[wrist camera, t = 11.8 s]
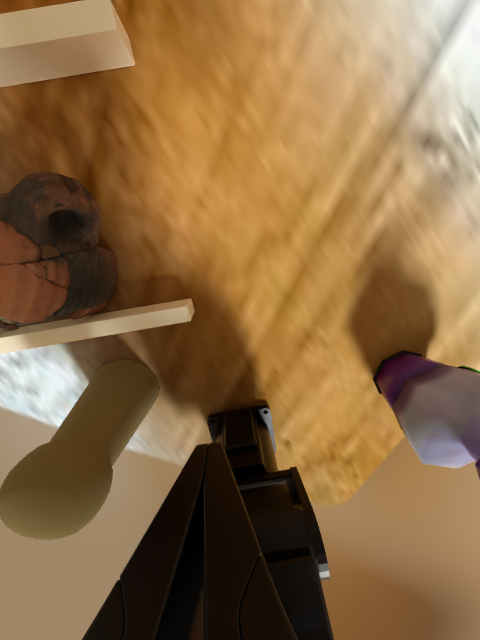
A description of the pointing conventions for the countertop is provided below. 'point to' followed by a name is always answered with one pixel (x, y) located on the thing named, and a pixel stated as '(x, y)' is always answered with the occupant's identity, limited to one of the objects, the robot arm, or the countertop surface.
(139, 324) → the cream bay
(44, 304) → the brown looped piece
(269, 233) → the countertop surface
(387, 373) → the potion bottle
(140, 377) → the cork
